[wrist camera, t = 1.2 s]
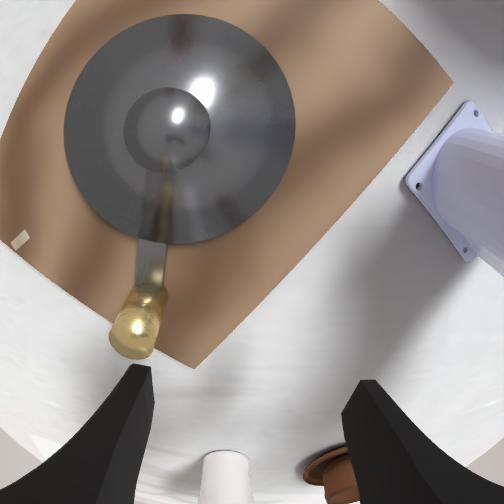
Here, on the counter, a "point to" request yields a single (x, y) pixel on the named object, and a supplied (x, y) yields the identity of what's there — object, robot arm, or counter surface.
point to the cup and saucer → (334, 477)
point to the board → (277, 206)
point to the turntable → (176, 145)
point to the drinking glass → (225, 479)
